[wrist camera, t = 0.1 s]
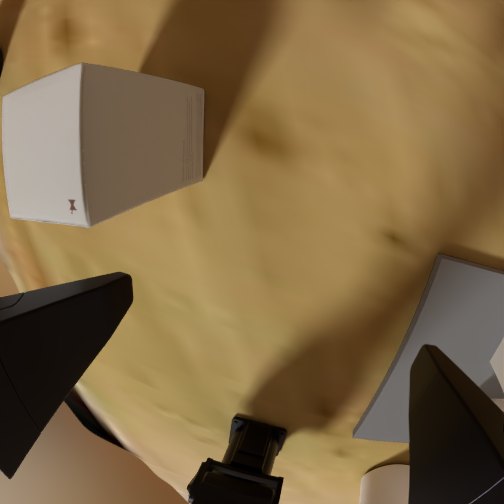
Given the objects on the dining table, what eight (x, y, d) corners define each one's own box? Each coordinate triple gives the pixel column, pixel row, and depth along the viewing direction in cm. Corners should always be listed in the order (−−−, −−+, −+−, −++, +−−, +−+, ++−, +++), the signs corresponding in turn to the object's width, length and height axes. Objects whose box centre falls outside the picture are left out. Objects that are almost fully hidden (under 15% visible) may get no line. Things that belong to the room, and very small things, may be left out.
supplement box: (207, 86, 20) (86, 57, 9) (204, 182, 23) (89, 235, 12) (127, 95, 22) (0, 93, 10) (127, 179, 25) (7, 222, 13)
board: (479, 437, 25) (480, 442, 25) (352, 431, 29) (352, 437, 28) (573, 292, 17) (578, 297, 16) (437, 253, 20) (441, 258, 19)
